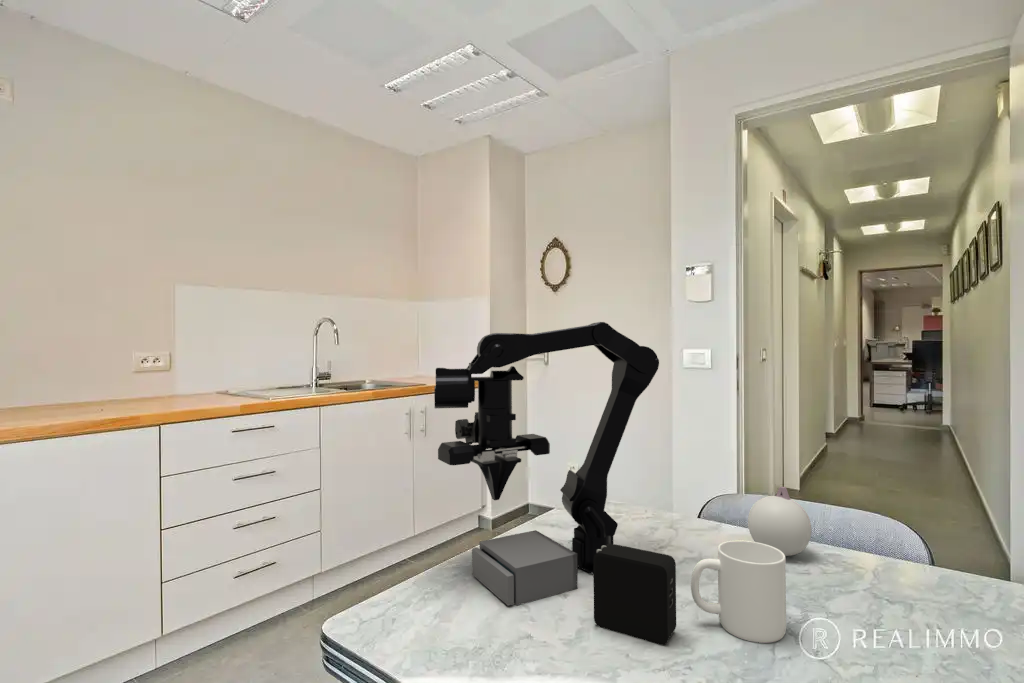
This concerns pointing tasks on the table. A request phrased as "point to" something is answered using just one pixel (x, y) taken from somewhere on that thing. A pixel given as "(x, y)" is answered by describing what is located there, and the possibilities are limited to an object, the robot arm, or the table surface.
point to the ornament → (780, 523)
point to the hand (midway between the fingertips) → (495, 499)
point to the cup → (747, 590)
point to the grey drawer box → (534, 564)
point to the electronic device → (635, 592)
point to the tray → (493, 576)
